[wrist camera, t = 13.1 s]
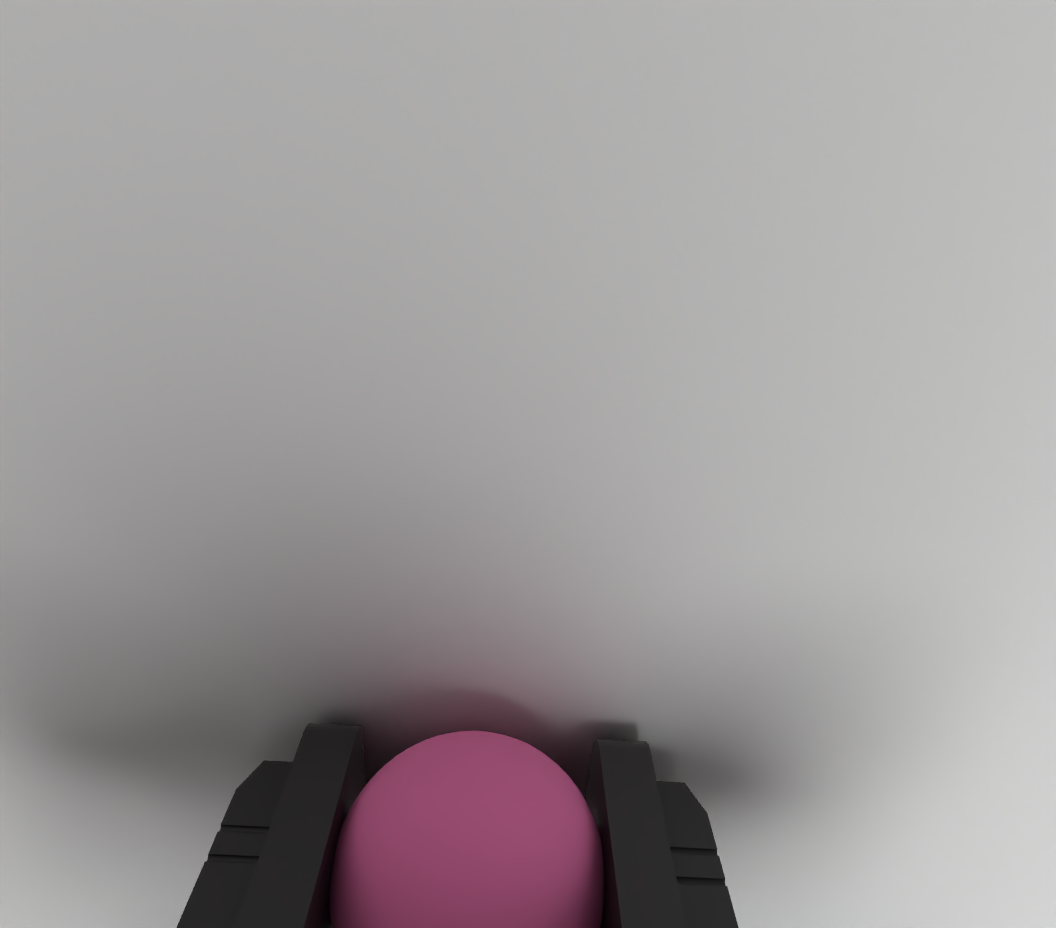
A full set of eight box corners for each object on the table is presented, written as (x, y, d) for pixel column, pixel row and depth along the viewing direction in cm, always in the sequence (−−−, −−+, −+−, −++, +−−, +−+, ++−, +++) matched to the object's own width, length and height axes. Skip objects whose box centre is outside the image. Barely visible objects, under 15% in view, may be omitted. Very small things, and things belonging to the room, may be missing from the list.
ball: (356, 669, 10) (287, 900, 7) (606, 681, 11) (642, 913, 7) (358, 849, 12) (302, 1108, 9) (580, 859, 12) (603, 1118, 9)
